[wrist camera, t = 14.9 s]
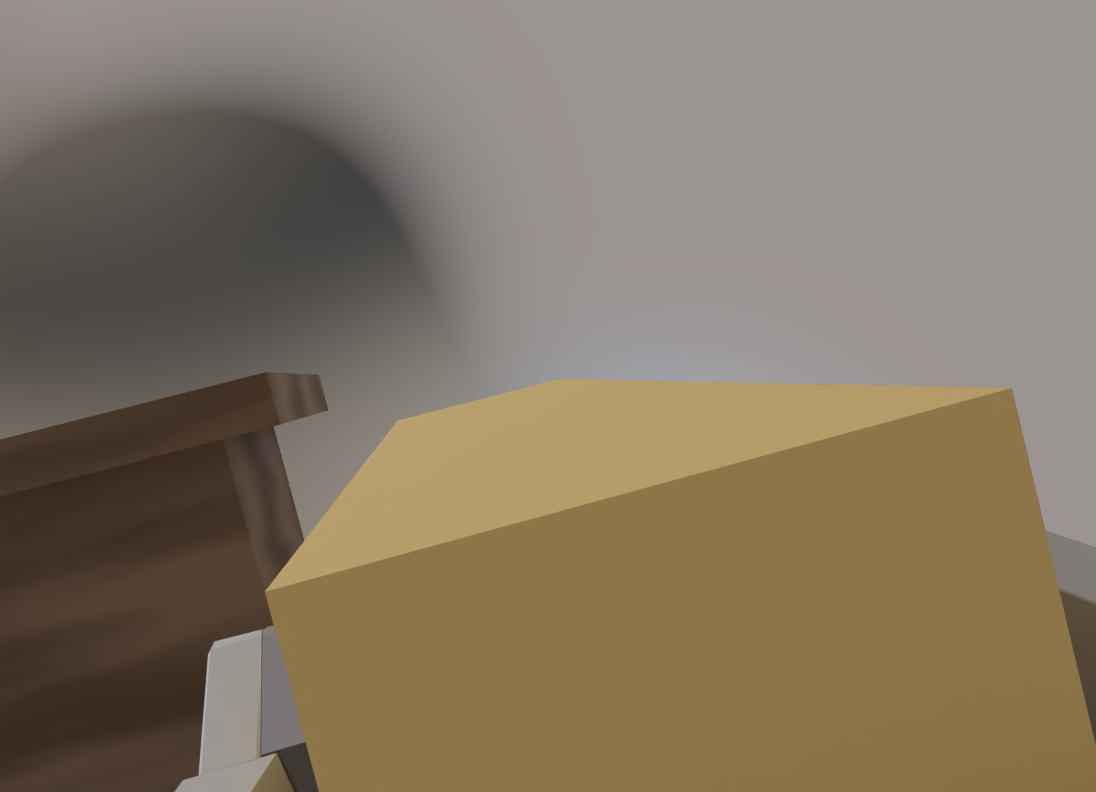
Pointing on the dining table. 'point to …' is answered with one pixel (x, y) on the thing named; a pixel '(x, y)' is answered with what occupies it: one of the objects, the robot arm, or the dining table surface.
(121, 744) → the walnut stand
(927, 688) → the yellow bar
